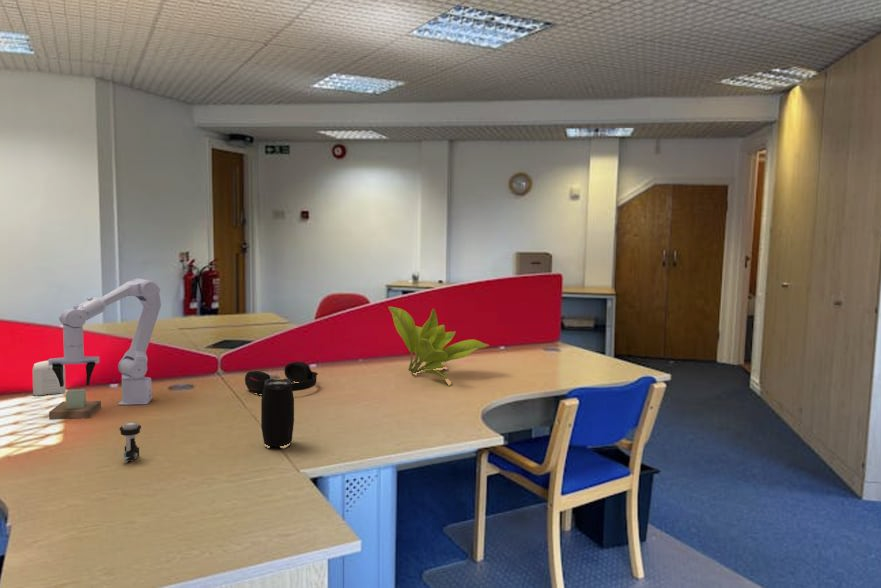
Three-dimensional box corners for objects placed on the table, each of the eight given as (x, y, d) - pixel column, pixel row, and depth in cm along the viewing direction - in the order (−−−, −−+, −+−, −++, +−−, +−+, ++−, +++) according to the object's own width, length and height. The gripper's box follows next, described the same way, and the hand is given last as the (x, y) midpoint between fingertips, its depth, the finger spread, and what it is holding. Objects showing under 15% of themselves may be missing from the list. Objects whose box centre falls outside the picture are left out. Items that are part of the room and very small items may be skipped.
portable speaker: (256, 444, 193) (256, 380, 191) (285, 438, 199) (286, 375, 197) (269, 452, 186) (269, 386, 184) (298, 446, 192) (299, 381, 190)
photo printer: (65, 390, 243) (64, 358, 242) (66, 393, 240) (65, 360, 238) (33, 394, 238) (31, 360, 236) (33, 396, 234) (31, 363, 233)
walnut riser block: (101, 409, 224) (100, 400, 224) (89, 420, 212) (89, 411, 212) (63, 410, 222) (62, 401, 221) (49, 421, 210) (48, 412, 210)
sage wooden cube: (86, 403, 220) (85, 389, 219) (83, 407, 215) (83, 393, 215) (69, 404, 218) (68, 390, 218) (66, 408, 213) (65, 394, 213)
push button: (134, 464, 175) (133, 428, 174) (114, 464, 175) (113, 428, 173) (145, 455, 181) (144, 421, 180) (125, 455, 181) (124, 420, 180)
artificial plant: (421, 407, 258) (467, 350, 252) (352, 337, 274) (393, 282, 268) (462, 402, 296) (502, 352, 290) (399, 341, 312) (436, 292, 306)
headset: (266, 378, 272) (265, 357, 271) (326, 382, 269) (326, 361, 268) (236, 396, 244) (235, 373, 243) (303, 400, 241) (303, 377, 240)
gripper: (99, 341, 221) (101, 381, 222) (51, 343, 215) (52, 383, 217) (96, 345, 214) (98, 386, 216) (46, 347, 209) (48, 389, 210)
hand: (75, 385), depth 216 cm, fingers open, 7 cm apart
